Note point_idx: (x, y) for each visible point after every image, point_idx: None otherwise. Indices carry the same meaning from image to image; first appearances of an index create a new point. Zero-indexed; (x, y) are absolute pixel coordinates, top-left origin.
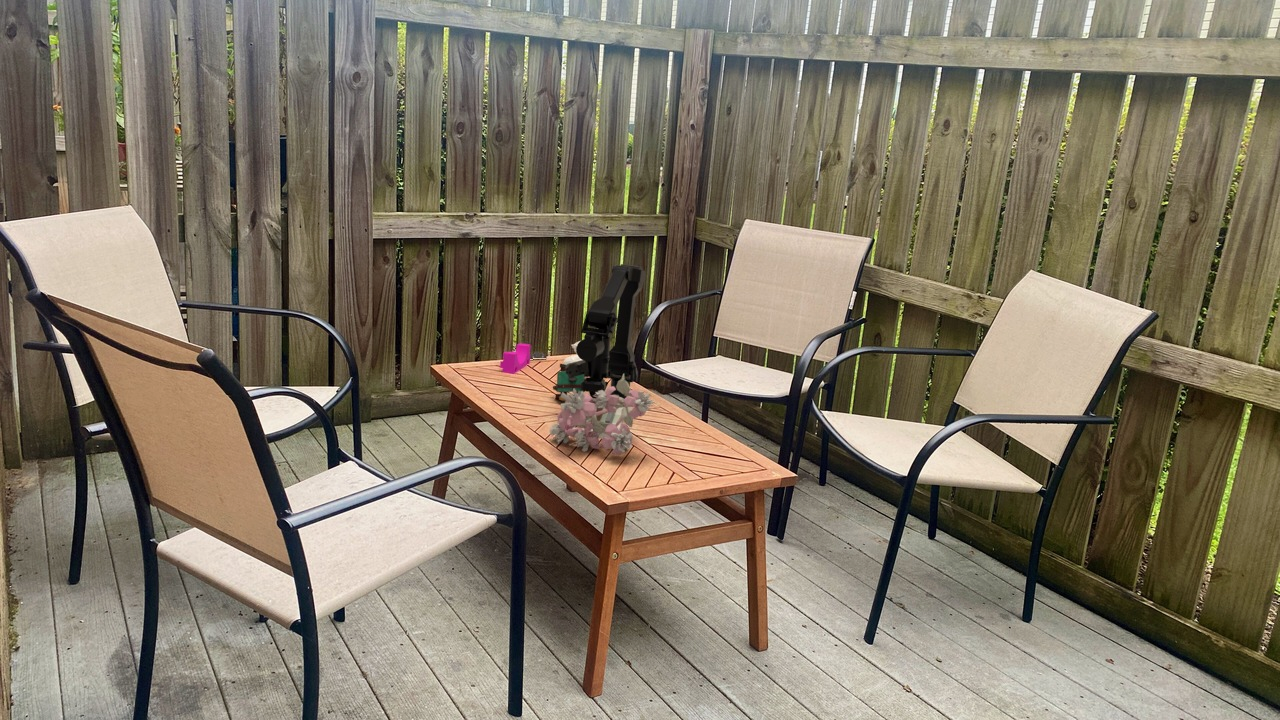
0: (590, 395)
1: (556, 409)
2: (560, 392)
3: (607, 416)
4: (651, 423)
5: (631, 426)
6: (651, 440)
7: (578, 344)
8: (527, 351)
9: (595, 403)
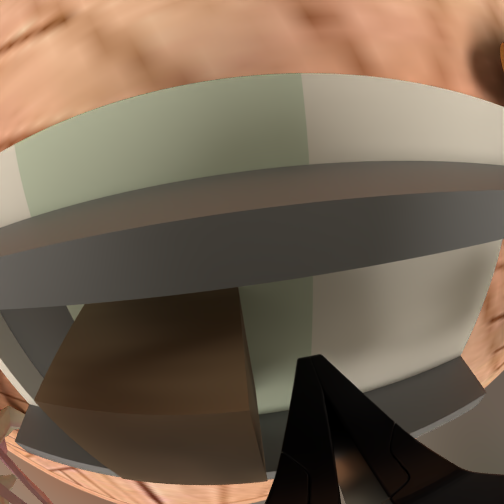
0: (271, 488)
1: (418, 20)
2: None
3: (62, 458)
4: None
5: (14, 478)
6: None
7: None
8: None
9: (163, 467)
